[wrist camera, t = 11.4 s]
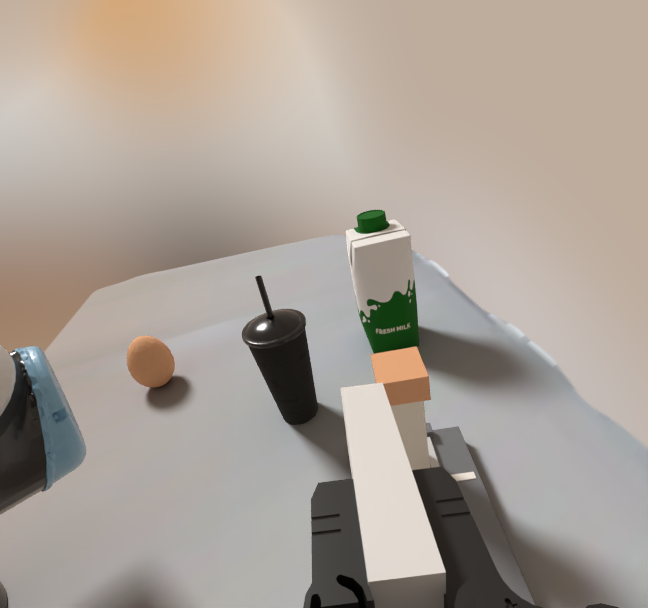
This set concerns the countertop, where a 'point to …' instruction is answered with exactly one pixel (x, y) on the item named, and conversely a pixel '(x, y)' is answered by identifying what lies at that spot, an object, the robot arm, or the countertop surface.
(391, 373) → the fader
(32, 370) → the robot arm
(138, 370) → the egg
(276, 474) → the countertop surface
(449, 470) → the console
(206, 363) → the countertop surface
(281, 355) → the drinking cup
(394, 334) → the milk carton
